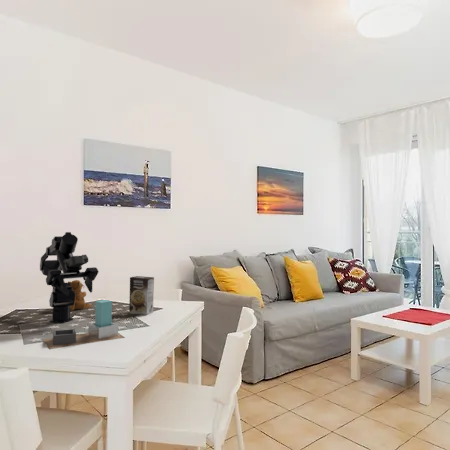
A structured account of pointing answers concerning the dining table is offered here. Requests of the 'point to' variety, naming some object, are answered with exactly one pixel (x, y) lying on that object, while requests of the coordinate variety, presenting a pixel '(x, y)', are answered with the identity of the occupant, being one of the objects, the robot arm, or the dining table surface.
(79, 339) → the panel board
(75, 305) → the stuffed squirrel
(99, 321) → the plug
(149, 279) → the coffee box
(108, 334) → the port
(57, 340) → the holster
